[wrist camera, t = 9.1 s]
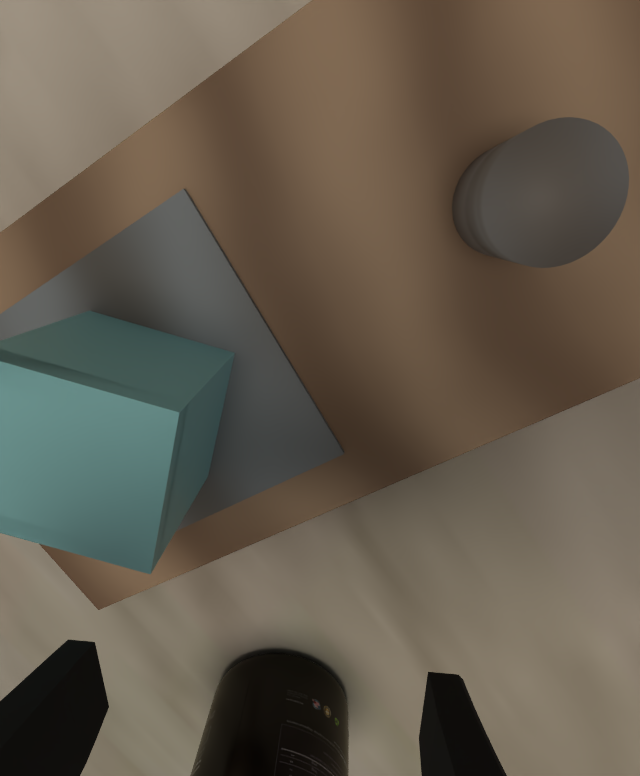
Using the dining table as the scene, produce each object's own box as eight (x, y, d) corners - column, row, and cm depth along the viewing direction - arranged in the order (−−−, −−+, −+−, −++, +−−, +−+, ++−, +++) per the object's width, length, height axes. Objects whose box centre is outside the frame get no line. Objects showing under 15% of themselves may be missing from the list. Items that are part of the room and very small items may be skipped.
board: (722, -272, 10) (1013, -664, 6) (833, 267, 14) (1065, 290, 10) (-104, 330, 18) (-271, 370, 13) (115, 584, 21) (47, 686, 17)
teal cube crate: (234, 352, 15) (179, 412, 10) (208, 476, 17) (150, 574, 12) (89, 310, 15) (-33, 352, 10) (78, 439, 17) (-31, 524, 12)
